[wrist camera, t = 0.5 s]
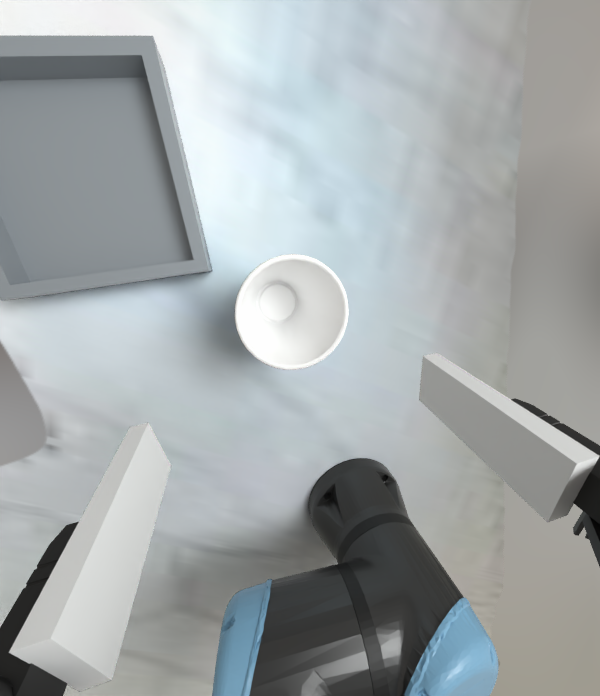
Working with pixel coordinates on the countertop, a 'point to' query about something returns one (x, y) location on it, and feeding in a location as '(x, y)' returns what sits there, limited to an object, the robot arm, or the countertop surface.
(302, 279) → the cup
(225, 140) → the countertop surface
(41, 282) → the tray
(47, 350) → the countertop surface
